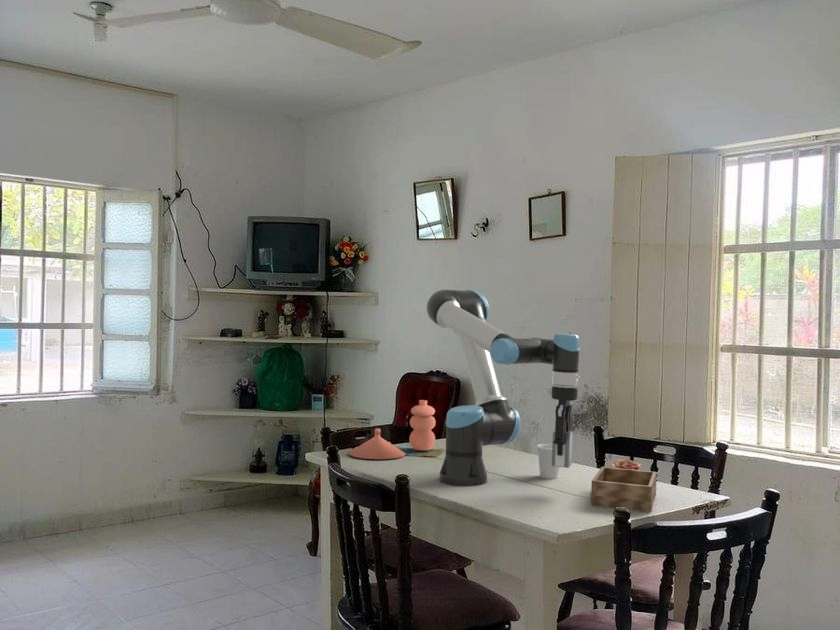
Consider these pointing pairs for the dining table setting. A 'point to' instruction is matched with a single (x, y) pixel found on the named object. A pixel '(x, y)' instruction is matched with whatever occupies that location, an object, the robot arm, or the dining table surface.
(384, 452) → the ceramic vessels
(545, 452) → the dixie cup
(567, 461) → the peg
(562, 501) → the dining table surface
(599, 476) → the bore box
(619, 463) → the flower
